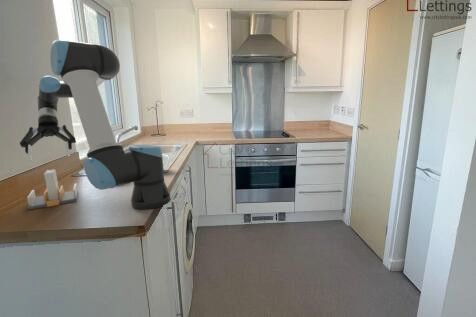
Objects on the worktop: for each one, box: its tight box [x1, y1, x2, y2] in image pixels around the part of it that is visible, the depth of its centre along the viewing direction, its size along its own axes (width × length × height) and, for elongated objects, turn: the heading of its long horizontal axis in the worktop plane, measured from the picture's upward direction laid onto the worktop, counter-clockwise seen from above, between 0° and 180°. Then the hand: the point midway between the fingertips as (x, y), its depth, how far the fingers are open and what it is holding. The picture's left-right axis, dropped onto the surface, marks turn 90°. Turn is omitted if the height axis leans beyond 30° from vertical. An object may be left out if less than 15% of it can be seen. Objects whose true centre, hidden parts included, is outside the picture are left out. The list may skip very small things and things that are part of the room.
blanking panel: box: [43, 168, 60, 201], centre depth 108 cm, size 6×3×12 cm, turn 28°
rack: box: [26, 182, 79, 210], centre depth 109 cm, size 13×16×5 cm
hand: (49, 156), depth 112 cm, fingers open, 13 cm apart
